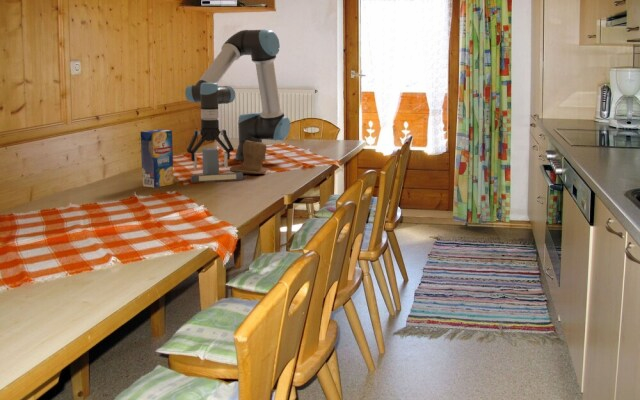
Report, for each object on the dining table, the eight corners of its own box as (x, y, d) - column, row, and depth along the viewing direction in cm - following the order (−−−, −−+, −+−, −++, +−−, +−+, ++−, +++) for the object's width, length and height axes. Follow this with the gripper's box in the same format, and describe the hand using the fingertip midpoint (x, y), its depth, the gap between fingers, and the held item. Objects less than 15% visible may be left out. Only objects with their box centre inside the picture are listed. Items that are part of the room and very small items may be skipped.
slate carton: (202, 175, 340) (202, 148, 338) (214, 174, 342) (214, 147, 340) (207, 178, 332) (207, 150, 330) (219, 178, 334) (219, 150, 332)
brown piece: (271, 173, 348) (271, 139, 345) (258, 177, 338) (258, 142, 335) (242, 170, 355) (242, 137, 352) (228, 174, 344) (228, 140, 341)
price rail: (191, 182, 323) (190, 174, 323) (242, 179, 331) (241, 172, 331) (191, 182, 322) (191, 175, 321) (243, 179, 330) (243, 172, 329)
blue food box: (173, 183, 319) (172, 130, 315) (154, 187, 310) (152, 132, 306) (161, 182, 323) (159, 129, 318) (142, 185, 314) (140, 131, 309)
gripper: (182, 120, 324) (183, 170, 329) (240, 119, 333) (240, 167, 337) (179, 119, 331) (180, 168, 335) (235, 117, 340) (236, 165, 344)
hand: (210, 168), depth 336 cm, fingers open, 13 cm apart
